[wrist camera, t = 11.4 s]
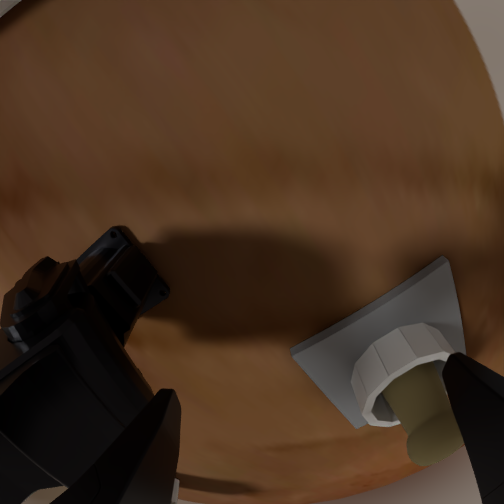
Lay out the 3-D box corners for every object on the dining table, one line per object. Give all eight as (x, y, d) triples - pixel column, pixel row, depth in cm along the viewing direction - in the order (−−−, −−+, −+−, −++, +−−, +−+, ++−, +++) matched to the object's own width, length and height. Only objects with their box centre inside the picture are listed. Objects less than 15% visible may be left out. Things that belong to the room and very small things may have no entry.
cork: (435, 354, 24) (485, 436, 14) (390, 391, 26) (425, 477, 16) (410, 328, 22) (469, 424, 12) (359, 371, 24) (396, 473, 14)
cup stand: (354, 422, 29) (364, 455, 25) (290, 348, 24) (298, 393, 19) (463, 358, 26) (482, 386, 22) (442, 255, 21) (476, 284, 16)
